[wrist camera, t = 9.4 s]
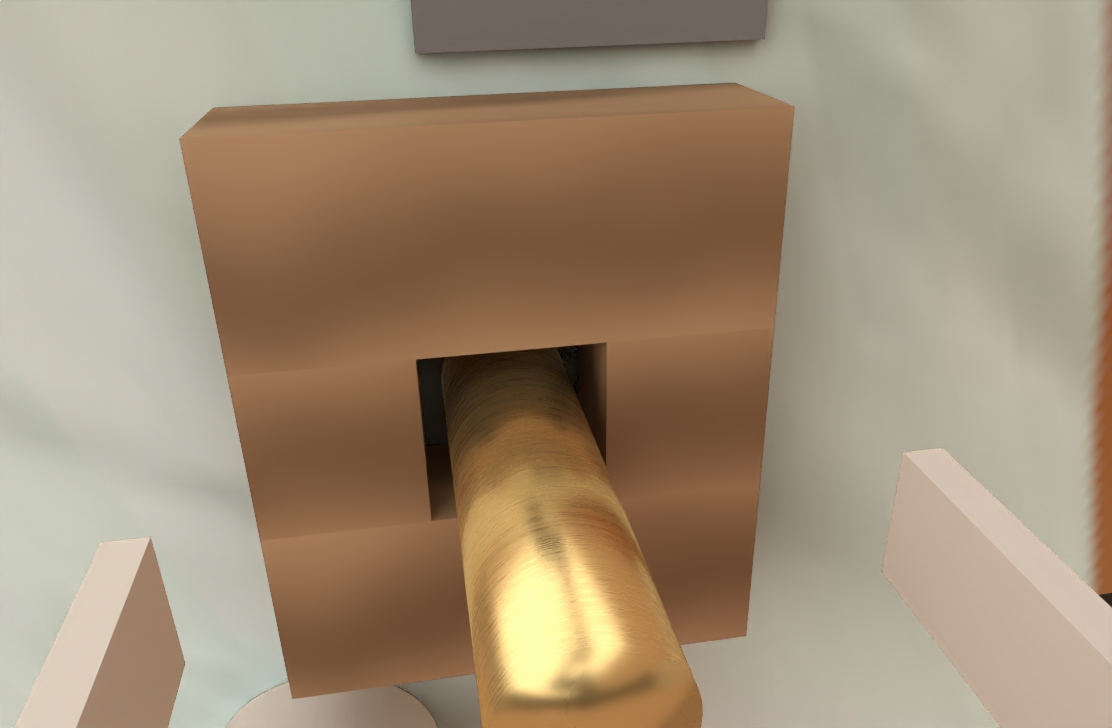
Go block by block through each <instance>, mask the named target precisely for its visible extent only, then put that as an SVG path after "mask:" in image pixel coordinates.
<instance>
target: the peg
mask: <svg viewBox="0 0 1112 728" xmlns="http://www.w3.org/2000/svg"><path fill="white" fill-rule="evenodd" d="M441 382H442V391H443V399H444V408H445V416H446V425H447V433H448V442H449V450H450V459H451V467H452V476H453V485H454V493H455V502H456V510H457V519H458V527H459V536H460V544H461V553H462V561H463V570H464V578H465V587H466V595H467V604H468V612H469V621H470V629H471V638H472V646H473V655H474V663H475V672H476V680H477V689H478V697H479V706H480V714H481V723H482V728H700V727H701V722H702V715H703V714H702V700H701V695H700V692H699V690H698V687H697V685H696V682H695V680H694V678H693V675H692V673H691V670H690V668H689V666H688V663H687V661H686V658H685V656H684V653H683V651H682V649H681V646H680V644H679V641H678V639H677V637H676V634H675V632H674V629H673V627H672V625H671V622H670V620H669V617H668V615H667V612H666V610H665V608H664V605H663V603H662V600H661V598H660V596H659V593H658V591H657V588H656V586H655V584H654V581H653V579H652V576H651V574H650V571H649V569H648V567H647V564H646V562H645V559H644V557H643V555H642V552H641V550H640V547H639V545H638V543H637V540H636V538H635V535H634V533H633V531H632V528H631V526H630V523H629V521H628V518H627V516H626V514H625V511H624V509H623V506H622V504H621V502H620V499H619V497H618V494H617V492H616V490H615V487H614V485H613V482H612V480H611V477H610V475H609V473H608V470H607V468H606V465H605V463H604V461H603V458H602V456H601V453H600V451H599V449H598V446H597V444H596V441H595V439H594V436H593V434H592V432H591V429H590V427H589V424H588V422H587V420H586V417H585V415H584V412H583V410H582V408H581V405H580V403H579V400H578V398H577V396H576V393H575V391H574V388H573V386H572V383H571V381H570V379H569V376H568V374H567V371H566V369H565V367H564V364H563V362H562V359H561V357H560V355H559V352H558V350H557V347H551V348H539V349H528V350H517V351H506V352H494V353H483V354H472V355H461V356H450V357H444V359H443V363H442V368H441Z"/></svg>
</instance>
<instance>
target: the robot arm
mask: <svg viewBox="0 0 1112 728" xmlns="http://www.w3.org/2000/svg"><path fill="white" fill-rule="evenodd" d="M882 572H883V574H884V575H885V576H886V578H887V579H888V580H889V582H890V583H891V584H892V585H893V587H894V588H895V589H896V591H897V592H898V593H899V595H900V596H901V597H902V599H903V600H904V601H905V602H906V604H907V605H908V606H909V608H910V609H911V610H912V612H913V613H914V614H915V616H916V617H917V618H918V619H919V621H920V622H921V623H922V625H923V626H924V627H925V629H926V630H927V631H928V633H929V634H930V635H931V637H932V638H933V639H934V640H935V642H936V643H937V644H938V646H939V647H940V648H941V650H942V651H943V652H944V654H945V655H946V656H947V657H948V659H949V660H950V661H951V663H952V664H953V665H954V667H955V668H956V669H957V671H958V672H959V673H960V674H961V676H962V677H963V678H964V680H965V681H966V682H967V684H968V685H969V686H970V688H971V689H972V690H973V692H974V693H975V694H976V695H977V697H978V698H979V699H980V701H981V702H982V703H983V705H984V706H985V707H986V709H987V710H988V711H989V712H990V714H991V715H992V716H993V718H994V719H995V720H996V722H997V723H998V724H999V726H1000V727H1001V728H1112V593H1109V594H1101V595H1098V594H1097V593H1096V592H1095V591H1093V590H1092V589H1091V588H1090V587H1089V586H1088V585H1087V584H1086V583H1085V582H1084V581H1083V580H1082V579H1081V578H1080V577H1079V576H1078V575H1077V574H1075V573H1074V572H1073V571H1072V570H1071V569H1070V568H1069V567H1068V566H1067V565H1066V564H1065V563H1064V562H1063V561H1062V560H1061V559H1060V558H1059V557H1057V556H1056V555H1055V554H1054V553H1053V552H1052V551H1051V550H1050V549H1049V548H1048V547H1047V546H1046V545H1045V544H1044V543H1043V542H1042V541H1040V540H1039V539H1038V538H1037V537H1036V536H1035V535H1034V534H1033V533H1032V532H1031V531H1030V530H1029V529H1028V528H1027V527H1026V526H1025V525H1024V524H1022V523H1021V522H1020V521H1019V520H1018V519H1017V518H1016V517H1015V516H1014V515H1013V514H1012V513H1011V512H1010V511H1009V510H1008V509H1007V508H1006V507H1004V506H1003V505H1002V504H1001V503H1000V502H999V501H998V500H997V499H996V498H995V497H994V496H993V495H992V494H991V493H990V492H989V491H987V490H986V489H985V488H984V487H983V486H982V485H981V484H980V483H979V482H978V481H977V480H976V479H975V478H974V477H973V476H972V475H971V474H969V473H968V472H967V471H966V470H965V469H964V468H963V467H962V466H961V465H960V464H959V463H958V462H957V461H956V460H955V459H954V458H952V457H951V456H950V455H949V454H948V453H947V452H946V451H945V450H944V449H943V448H936V449H927V450H918V451H909V452H903V458H902V463H901V469H900V474H899V480H898V485H897V490H896V496H895V501H894V507H893V512H892V518H891V523H890V529H889V534H888V540H887V545H886V551H885V556H884V561H883V567H882ZM184 666H185V661H184V657H183V653H182V650H181V646H180V642H179V639H178V635H177V631H176V628H175V624H174V620H173V617H172V613H171V610H170V606H169V602H168V599H167V595H166V591H165V588H164V584H163V580H162V577H161V573H160V569H159V566H158V562H157V558H156V555H155V551H154V548H153V544H152V540H151V537H144V538H135V539H126V540H117V541H108V542H101V543H100V545H99V547H98V549H97V551H96V553H95V555H94V557H93V560H92V562H91V564H90V566H89V568H88V570H87V572H86V575H85V577H84V579H83V581H82V583H81V585H80V587H79V590H78V592H77V594H76V596H75V598H74V600H73V602H72V605H71V607H70V609H69V611H68V613H67V615H66V617H65V620H64V622H63V624H62V626H61V628H60V630H59V632H58V635H57V637H56V639H55V641H54V643H53V645H52V647H51V650H50V652H49V654H48V656H47V658H46V660H45V662H44V665H43V667H42V669H41V671H40V673H39V675H38V677H37V680H36V682H35V684H34V686H33V688H32V690H31V692H30V695H29V697H28V699H27V701H26V703H25V705H24V707H23V710H22V712H21V714H20V716H19V718H18V720H17V722H16V725H15V727H14V728H168V724H169V721H170V717H171V713H172V710H173V706H174V703H175V699H176V695H177V692H178V688H179V684H180V681H181V677H182V673H183V670H184Z"/></svg>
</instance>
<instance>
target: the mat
mask: <svg viewBox="0 0 1112 728" xmlns="http://www.w3.org/2000/svg"><path fill="white" fill-rule="evenodd" d="M411 9H412V20H413V32H414V44H415V53H416V54H417V53H442V52H466V51H491V50H515V49H540V48H564V47H589V46H613V45H638V44H662V43H686V42H711V41H735V40H760V39H765V27H766V14H767V0H411Z"/></svg>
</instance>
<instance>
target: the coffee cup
mask: <svg viewBox="0 0 1112 728" xmlns="http://www.w3.org/2000/svg"><path fill="white" fill-rule="evenodd" d="M226 728H438V727H437V724H436V722H435V720H434V719H433V717H432V715H431V714H430V712H429V711H428V710H427V709H426V707H425V706H424V705H423V704H422V703H421V702H419V701H418V700H417V699H416V698H415V697H413V696H412V695H410V694H409V693H407V692H406V691H404V690H402V689H400V688H398V687H396V686H394V685H391V686H384V687H377V688H369V689H362V690H355V691H348V692H341V693H334V694H327V695H319V696H312V697H305V698H298V699H292V696H291V691H290V686H289V682H287V683H284V684H281V685H279V686H276V687H274V688H272V689H270V690H267V691H266V692H264V693H262V694H260V695H259V696H257V697H255V698H254V699H252V700H251V701H250V702H248V703H247V704H246V705H245V706H244V707H242V708H241V709H240V710H239V711H238V712H237V713H236V714H235V715H234V717H233V718H232V719H231V720H230V722H229V723H228V725H227V726H226Z"/></svg>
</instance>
